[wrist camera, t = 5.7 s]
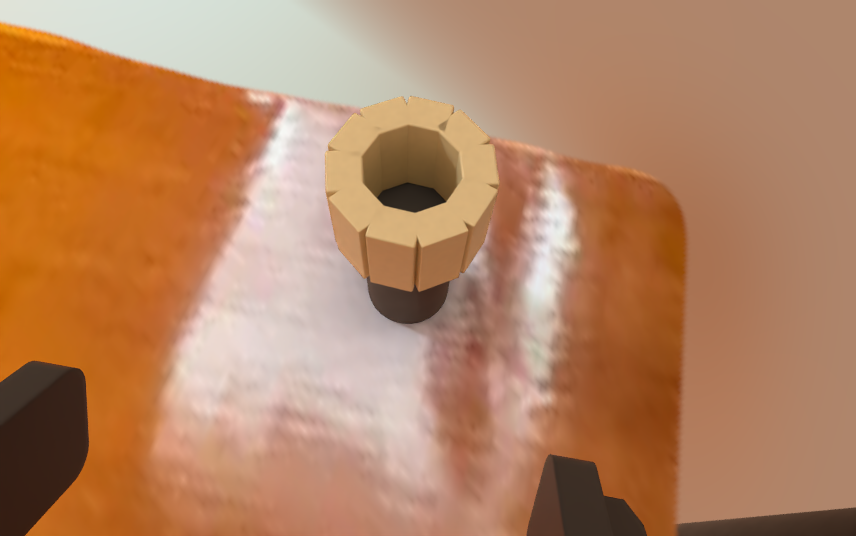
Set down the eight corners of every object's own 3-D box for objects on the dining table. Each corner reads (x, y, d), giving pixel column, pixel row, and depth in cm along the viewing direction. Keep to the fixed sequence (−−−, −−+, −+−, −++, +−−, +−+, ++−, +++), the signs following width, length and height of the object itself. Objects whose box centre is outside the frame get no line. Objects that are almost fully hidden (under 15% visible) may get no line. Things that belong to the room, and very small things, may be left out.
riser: (413, 236, 33) (416, 162, 27) (463, 291, 32) (479, 227, 26) (352, 281, 32) (340, 214, 26) (402, 339, 31) (403, 285, 25)
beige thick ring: (417, 133, 28) (420, 69, 24) (516, 232, 26) (535, 180, 22) (304, 210, 26) (288, 153, 22) (401, 322, 24) (402, 281, 20)
